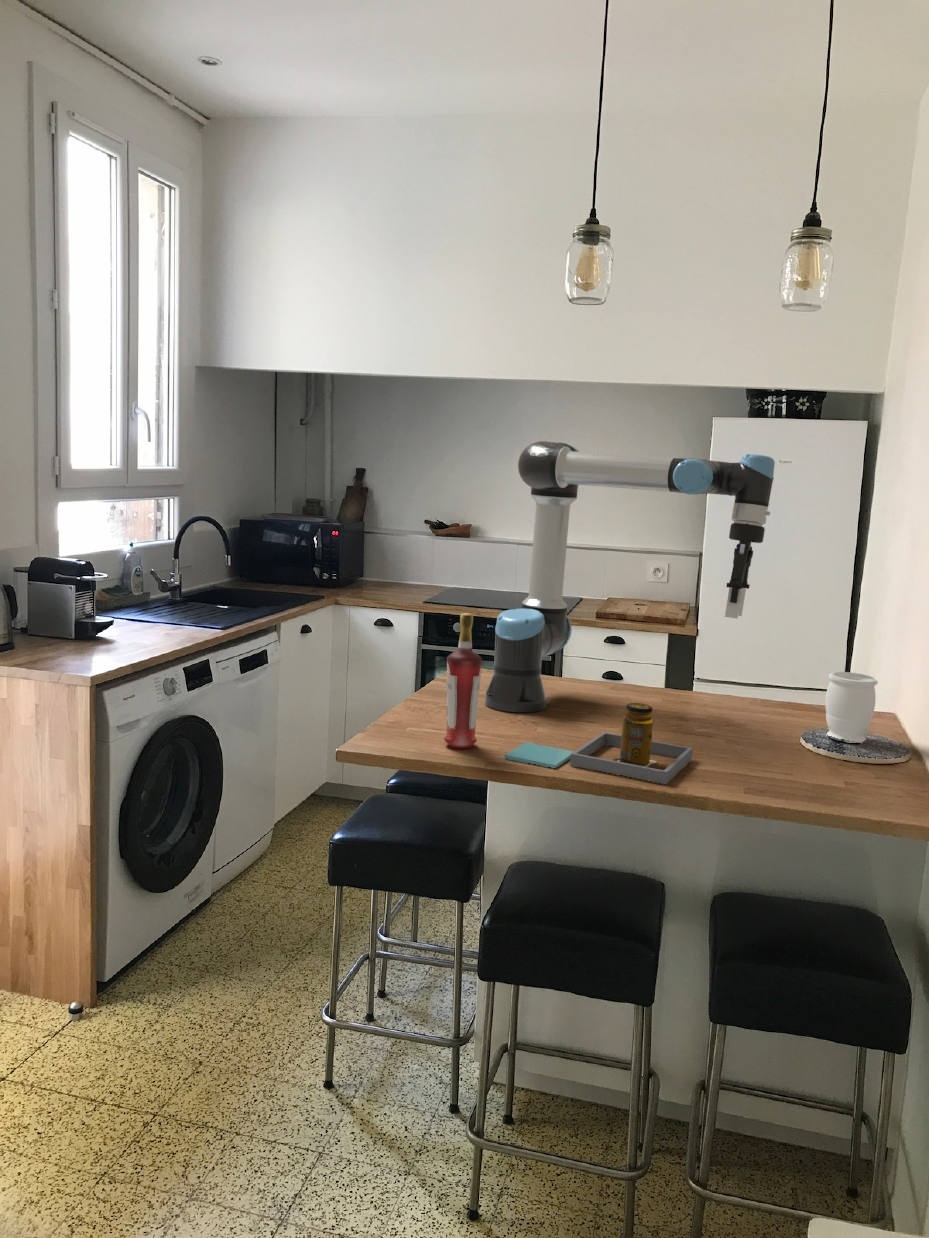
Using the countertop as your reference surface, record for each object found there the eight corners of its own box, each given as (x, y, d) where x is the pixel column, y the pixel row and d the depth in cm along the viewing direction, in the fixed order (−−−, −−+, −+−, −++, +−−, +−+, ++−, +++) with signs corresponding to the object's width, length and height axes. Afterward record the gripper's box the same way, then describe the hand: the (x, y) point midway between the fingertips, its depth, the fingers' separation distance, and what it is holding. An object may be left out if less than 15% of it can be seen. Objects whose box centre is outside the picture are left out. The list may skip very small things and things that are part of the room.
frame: (569, 765, 194) (570, 753, 193) (602, 742, 211) (603, 731, 210) (665, 784, 185) (666, 772, 184) (691, 759, 202) (692, 747, 202)
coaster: (504, 758, 196) (504, 754, 196) (526, 745, 206) (526, 742, 206) (555, 768, 191) (555, 764, 191) (574, 755, 201) (575, 751, 201)
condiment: (657, 762, 199) (662, 705, 197) (639, 771, 192) (644, 713, 190) (625, 754, 203) (629, 699, 201) (606, 763, 196) (610, 706, 194)
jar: (877, 740, 224) (885, 677, 222) (860, 748, 217) (868, 683, 214) (832, 730, 231) (839, 669, 229) (814, 738, 224) (821, 674, 221)
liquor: (441, 740, 207) (447, 611, 202) (475, 741, 207) (482, 612, 203) (443, 750, 199) (450, 616, 195) (479, 751, 200) (486, 618, 196)
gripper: (762, 523, 207) (746, 621, 208) (767, 528, 230) (753, 616, 232) (726, 519, 209) (711, 616, 211) (735, 524, 232) (721, 611, 234)
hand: (733, 616), depth 221 cm, fingers open, 13 cm apart
